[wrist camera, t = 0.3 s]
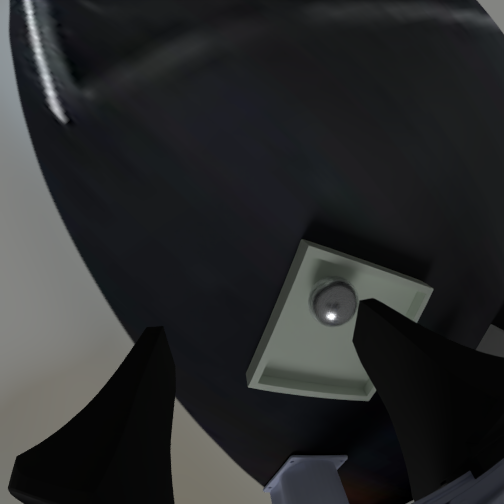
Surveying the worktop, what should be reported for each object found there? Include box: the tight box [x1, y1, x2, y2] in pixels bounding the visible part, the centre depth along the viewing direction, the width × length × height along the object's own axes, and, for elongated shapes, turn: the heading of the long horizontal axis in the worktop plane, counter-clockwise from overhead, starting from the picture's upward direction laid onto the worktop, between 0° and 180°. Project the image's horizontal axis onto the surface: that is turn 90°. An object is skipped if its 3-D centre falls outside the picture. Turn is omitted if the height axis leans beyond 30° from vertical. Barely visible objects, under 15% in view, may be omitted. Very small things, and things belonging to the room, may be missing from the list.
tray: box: [246, 239, 433, 401], centre depth 22 cm, size 12×12×2 cm
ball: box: [308, 276, 359, 327], centre depth 20 cm, size 4×4×4 cm
